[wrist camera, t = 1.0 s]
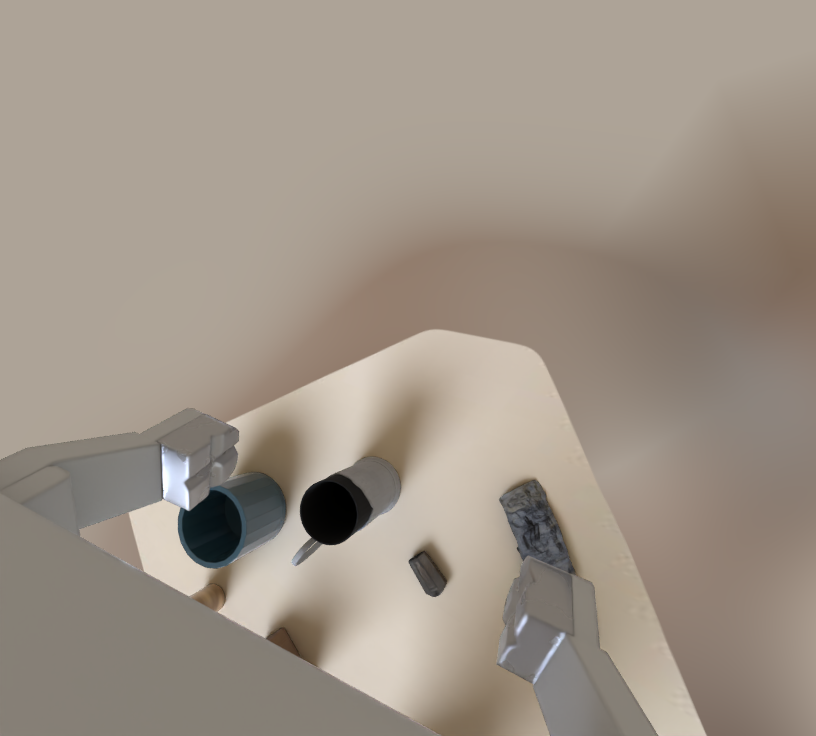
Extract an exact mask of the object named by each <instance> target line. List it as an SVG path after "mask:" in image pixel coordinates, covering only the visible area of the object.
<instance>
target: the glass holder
mask: <svg viewBox="0 0 816 736" xmlns="http://www.w3.org/2000/svg"><path fill="white" fill-rule="evenodd" d="M400 489H401V486H400V479H399V476H398V474H397V472H396V470H395V469H394V467H393V466H392V465H391V464H390V463H388V462H387V461H386V460H384V459H382V458H378V457H366V458H363V459H361V460H359V461H358V462H356V463H355V464H354V465H353V466H351V467H349V468H347V469H344V470H342V471H339V472H337V473H335V474H332V475H330V476H329V477H328V478H326V479H324V480H321V481H319V482H317V483H315V484H313V485H312V486H311V487H309V488H308V490H307V491H306V492H305V494H304V495H303V498H302V500H301V505H300V517H301V521H302V524H303V526H304V528H305V530H306V532H307V533H308V534H309V535H310V536H311V537H312V538H311V539H310V540H308V541H307V542H306V543H305V544H304V545H303V546H302V547H301V549H300V550H299V551H298V552H297V553H296V555H295V556H294V558H293V559H292V564H293V565H294V566H297V565H299V564H300V563H302V562H303V561H304V560H305V559H307V558H308V557H309V556H310V555H311V554H312V553H313V552H315V551H316V550H317V549H318V548H319V547H320V546H321V545H322V544H325V545H336V544H340V543H342V542H344V541H345V540H347V539H348V538H349V537H351V536H352V535H353V534H354V533H355V532H357V531H359V530H361V529H363V528H364V527H365V526H366V525H368V524H369V523H370V522H371V521H372V520H374V519H375V518H376V517H377V516H379V515H381V514H384V513H386V512H388V511H389V510H391V509H392V508H393V507H394V506H395V504H396V503H397V501H398V498H399V495H400ZM316 541H317V542H316ZM315 542H316V543H315ZM314 543H315V544H314ZM313 544H314V545H313ZM312 545H313V546H312ZM311 546H312V547H311ZM310 547H311V548H310ZM309 548H310V549H309ZM308 549H309V550H308ZM307 550H308V551H307Z"/></svg>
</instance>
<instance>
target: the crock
mask: <svg viewBox="0 0 816 736" xmlns="http://www.w3.org/2000/svg"><path fill="white" fill-rule="evenodd" d="M285 515H286V504H285V499H284V495H283V493H282V491H281V489H280V487H279V486H278V484H277V483H276V482H275V481H274V480H273V479H272V478H270V477H269V476H267V475H265V474H263V473H259V472H249V473H244V474H241V475H237V476H233V477H230V478H228V479H227V480H226V481H225V482H224V483H223V484H221V485H219V486H215V487H211V488H210V490H209V495H208V496H207V497H206V498H205V499H203V500H202V501H201V502H200V503H198V504H197V505H196V506H195V507H194V508H192V509H191V510H190V511H188V510H186V509H184V508H180V512H179V516H178V533H179V537H180V541H181V544H182V546H183V548H184V549H185V551H186V553H187V555H188V556H189V557H190V558H191V559H192V560H193V561H194V562H196V563H198V564H200V565H202V566H204V567H206V568H216V569H217V568H221V567H224V566H227V565H229V564H231V563H232V562H234V561H236V560H238V559H239V558H241V557H243V556H245V555H246V554H248V553H250V552H252V551H253V550H255V549H257V548H259V547H260V546H262V545H264V544H266V543H267V542H268V541H270V540H271V539H273V538H274V537H275V536H276V535H277V534H278V533H279V531H280V530H281V528H282V526H283V524H284V520H285Z"/></svg>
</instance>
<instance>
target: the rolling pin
mask: <svg viewBox="0 0 816 736" xmlns="http://www.w3.org/2000/svg"><path fill="white" fill-rule="evenodd" d="M189 597H190V598H192V599H194V600H196V601H198V602H199V603H201V604H203V605H205V606H207V607H209V608H210V609H212V610H214V611H216V612H217V611H219V610H220V609H221V608H222V607H223V605H224V602H225V596H224V592H223V590H222V589H221V588H220V587H219V586H218V585H216V584H210V585H208V586H206V587H204V588H203V589H201V590H199V591H198V592H196V593H194V594H193V595H191V596H189Z"/></svg>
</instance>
